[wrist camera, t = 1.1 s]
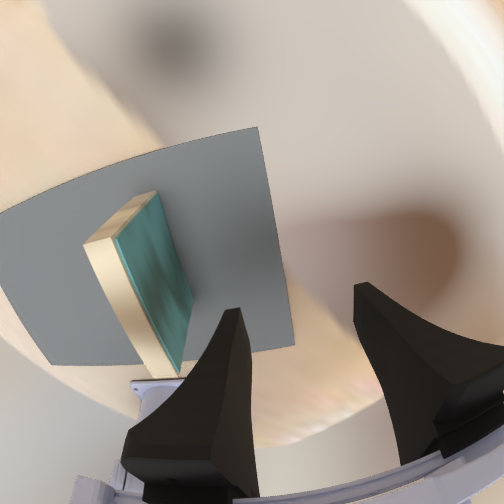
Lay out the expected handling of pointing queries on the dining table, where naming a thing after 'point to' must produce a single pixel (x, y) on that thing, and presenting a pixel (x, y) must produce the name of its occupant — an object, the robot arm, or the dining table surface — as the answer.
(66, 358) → the rubber mat
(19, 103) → the dining table surface
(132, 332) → the birch tile
